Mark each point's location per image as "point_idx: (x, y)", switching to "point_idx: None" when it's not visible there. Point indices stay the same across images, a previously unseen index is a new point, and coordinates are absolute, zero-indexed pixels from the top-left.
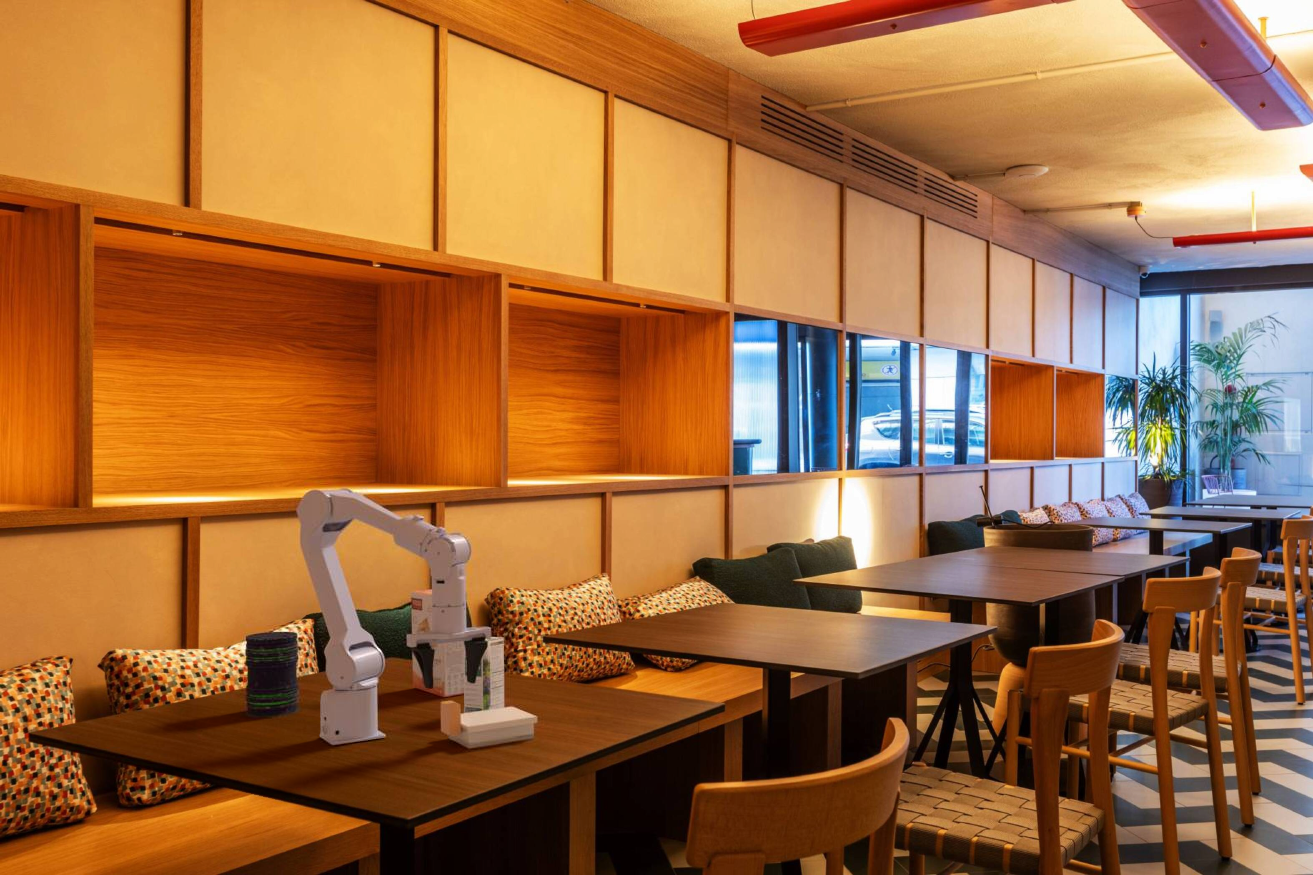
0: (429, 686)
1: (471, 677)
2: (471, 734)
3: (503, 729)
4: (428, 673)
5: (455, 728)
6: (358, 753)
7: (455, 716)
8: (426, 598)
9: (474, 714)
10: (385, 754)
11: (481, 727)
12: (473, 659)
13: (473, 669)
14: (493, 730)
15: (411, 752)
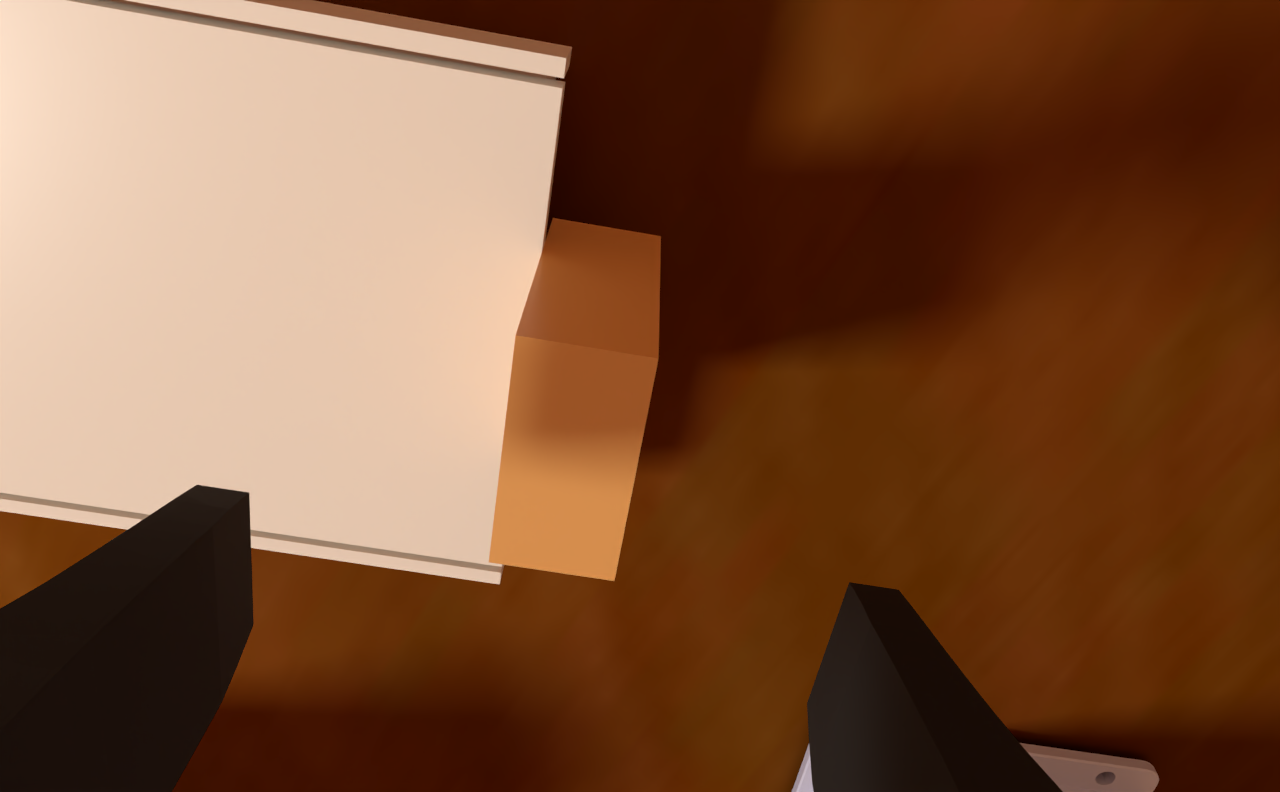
0: (910, 609)
1: (214, 554)
2: (518, 72)
3: (163, 9)
4: (1010, 743)
5: (600, 248)
6: (1195, 526)
7: (592, 291)
8: None
9: (266, 461)
10: (1111, 380)
11: (413, 26)
12: (17, 754)
13: (131, 599)
14: (275, 29)
15: (954, 295)
